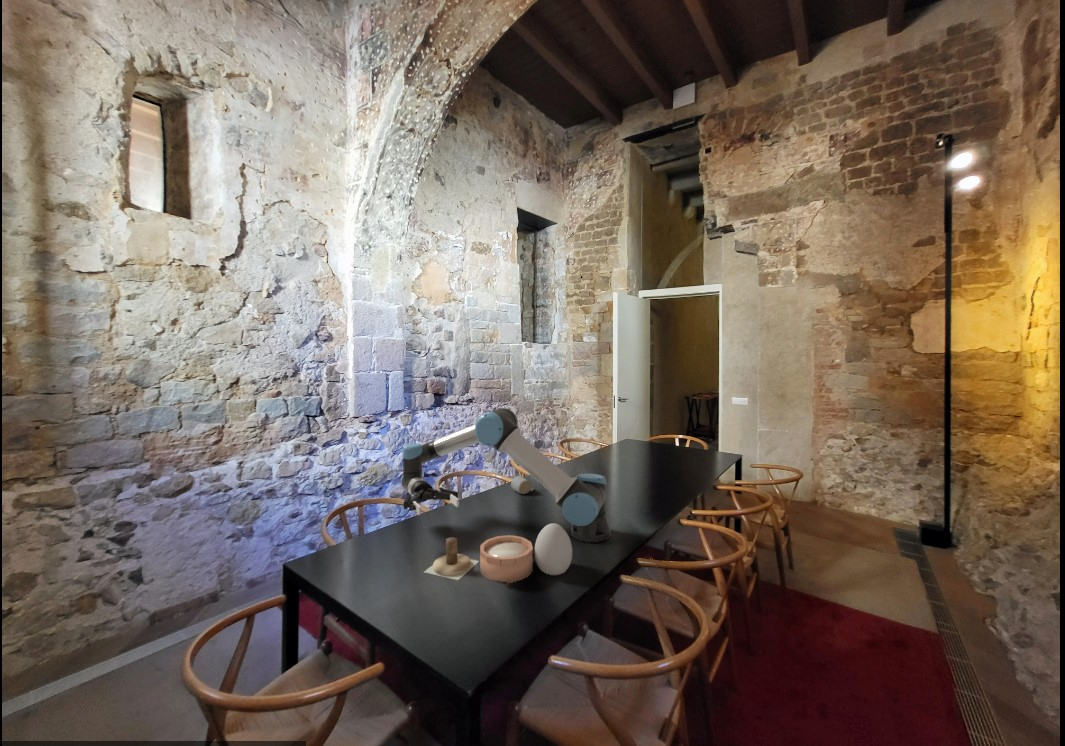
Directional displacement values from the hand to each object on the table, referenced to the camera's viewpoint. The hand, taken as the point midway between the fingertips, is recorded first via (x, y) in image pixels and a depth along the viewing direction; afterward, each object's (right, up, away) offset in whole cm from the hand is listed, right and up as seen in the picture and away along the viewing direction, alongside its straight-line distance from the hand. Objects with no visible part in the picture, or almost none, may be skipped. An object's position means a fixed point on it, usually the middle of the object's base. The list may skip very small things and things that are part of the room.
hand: (439, 507), depth 153 cm
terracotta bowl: (+24, -18, -9) cm, 31 cm away
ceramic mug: (+28, -13, +67) cm, 74 cm away
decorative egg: (+39, -18, -9) cm, 44 cm away
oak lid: (+6, -17, -7) cm, 20 cm away
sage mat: (+6, -18, -7) cm, 20 cm away
